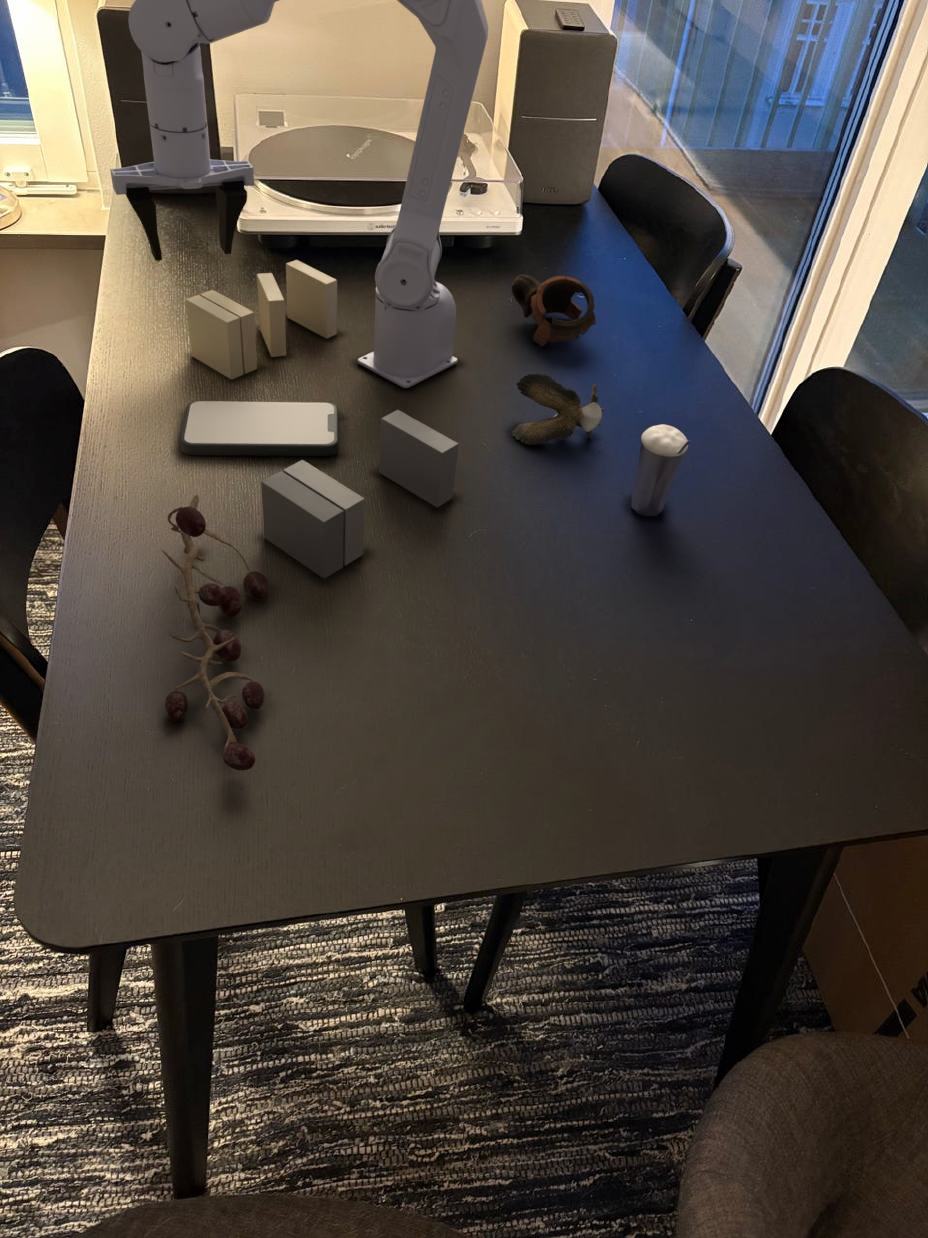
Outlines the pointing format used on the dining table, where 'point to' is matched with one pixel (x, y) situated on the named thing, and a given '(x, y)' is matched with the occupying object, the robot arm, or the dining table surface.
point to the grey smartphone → (260, 428)
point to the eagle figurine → (561, 401)
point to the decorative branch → (215, 637)
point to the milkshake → (657, 468)
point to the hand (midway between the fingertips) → (191, 253)
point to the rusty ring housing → (554, 306)
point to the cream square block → (271, 314)
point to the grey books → (352, 495)
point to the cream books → (229, 327)
